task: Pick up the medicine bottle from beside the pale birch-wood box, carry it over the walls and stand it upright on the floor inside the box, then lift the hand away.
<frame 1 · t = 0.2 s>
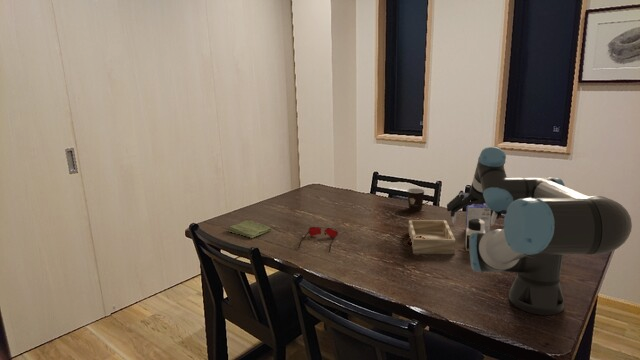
hand: (472, 221, 157), 16 cm above the table, tool tilted 35°, fingers open, 13 cm apart
glasses: (318, 244, 182), on the table
medicine bottle: (474, 248, 171), on the table
coffee mug: (417, 210, 218), on the table
washcloth: (249, 232, 198), on the table
ink cartridge box: (477, 232, 188), on the table
birch box: (430, 242, 178), on the table
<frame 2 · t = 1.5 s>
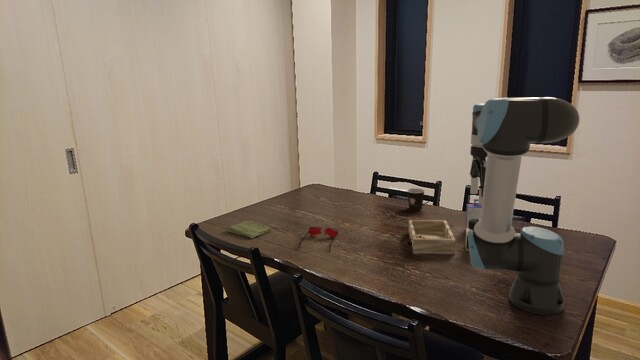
hand: (478, 198, 165), 21 cm above the table, tool pointing down, fingers open, 13 cm apart
nothing on the table moved.
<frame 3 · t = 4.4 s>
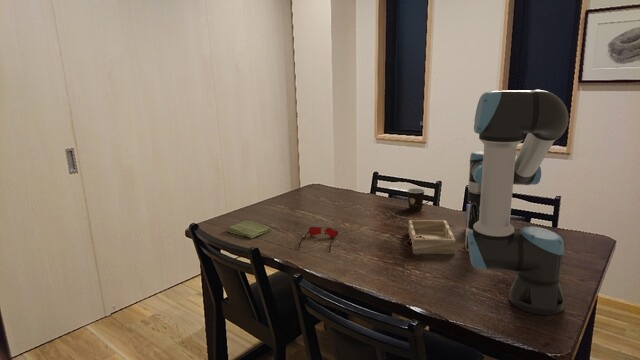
hand: (475, 245, 171), 1 cm above the table, tool pointing down, fingers closed on medicine bottle, 8 cm apart
medicine bottle: (474, 248, 171), on the table, touching gripper
everything else where it was.
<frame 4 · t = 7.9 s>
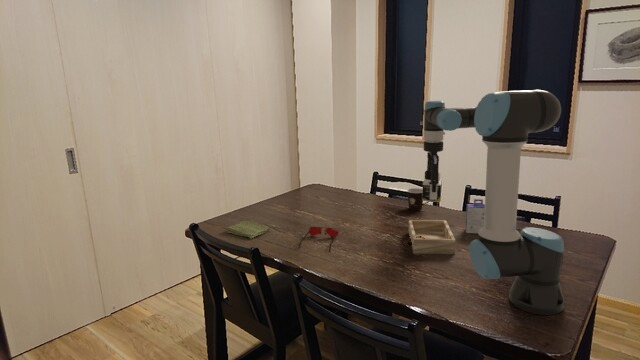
hand: (431, 196, 172), 20 cm above the table, tool pointing down, fingers closed on medicine bottle, 8 cm apart
medicine bottle: (431, 199, 173), point 19 cm above the table, touching gripper
everything else where it was.
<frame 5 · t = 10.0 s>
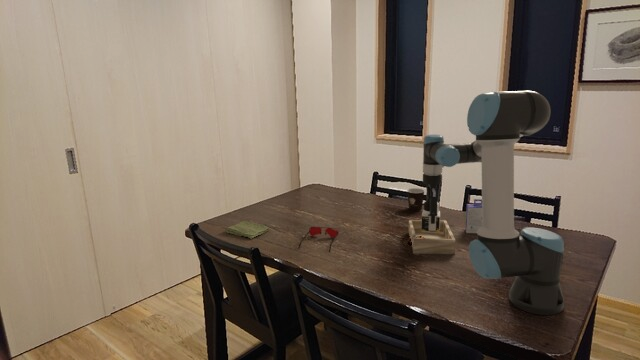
hand: (430, 226, 176), 7 cm above the table, tool pointing down, fingers closed on medicine bottle, 8 cm apart
medicine bottle: (430, 229, 176), point 6 cm above the table, touching gripper
everything else where it was.
when the fingers open (5 cm above the table, at t = 11.5 s): medicine bottle drops 2 cm, resting on birch box.
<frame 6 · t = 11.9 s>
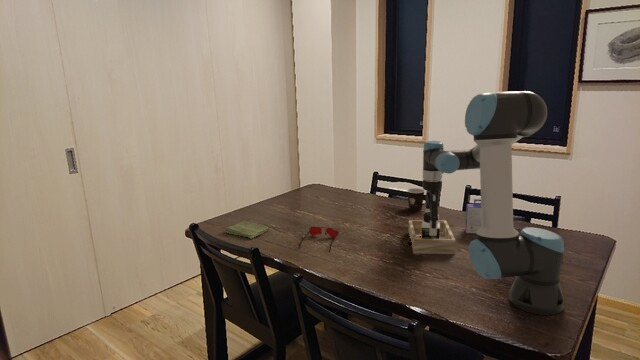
hand: (430, 229, 176), 6 cm above the table, tool pointing down, fingers open, 13 cm apart
medicine bottle: (430, 240, 177), point 1 cm above the table, touching birch box
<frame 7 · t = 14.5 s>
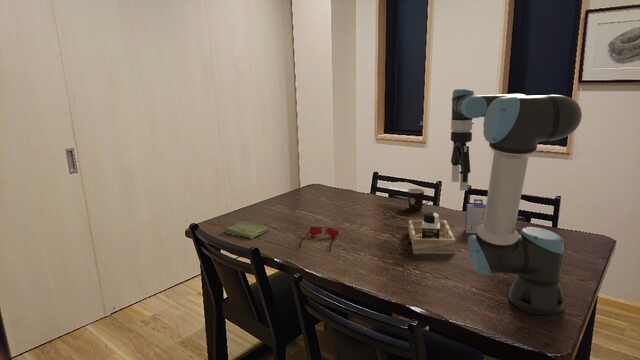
hand: (459, 185, 164), 27 cm above the table, tool pointing down, fingers open, 13 cm apart
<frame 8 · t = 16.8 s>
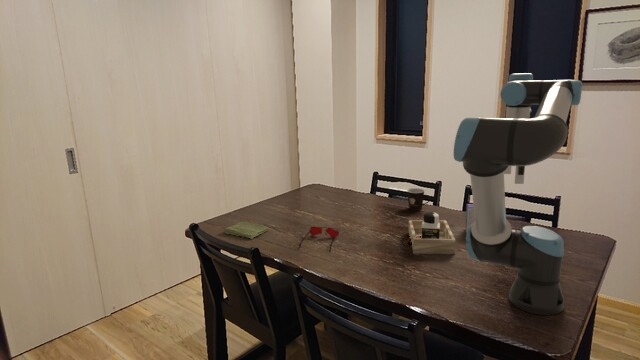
hand: (512, 178, 152), 32 cm above the table, tool pointing down, fingers open, 13 cm apart
at the end: medicine bottle inside the target area on the birch box (0.1 cm from its centre), point 0.8 cm above the birch box's base; medicine bottle tilted 0°; the gripper is holding nothing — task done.
